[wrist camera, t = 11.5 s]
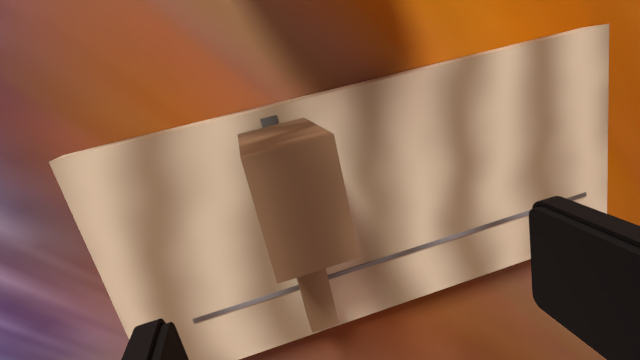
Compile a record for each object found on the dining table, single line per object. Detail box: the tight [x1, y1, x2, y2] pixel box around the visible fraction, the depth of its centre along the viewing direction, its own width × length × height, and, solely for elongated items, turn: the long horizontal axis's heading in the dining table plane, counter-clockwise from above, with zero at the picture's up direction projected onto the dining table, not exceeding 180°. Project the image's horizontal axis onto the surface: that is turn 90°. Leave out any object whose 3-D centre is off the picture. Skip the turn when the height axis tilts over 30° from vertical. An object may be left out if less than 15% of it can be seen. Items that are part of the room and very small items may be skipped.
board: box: [49, 24, 609, 360], centre depth 27 cm, size 36×16×2 cm, turn 104°
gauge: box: [237, 117, 360, 333], centre depth 21 cm, size 4×13×7 cm, turn 14°
